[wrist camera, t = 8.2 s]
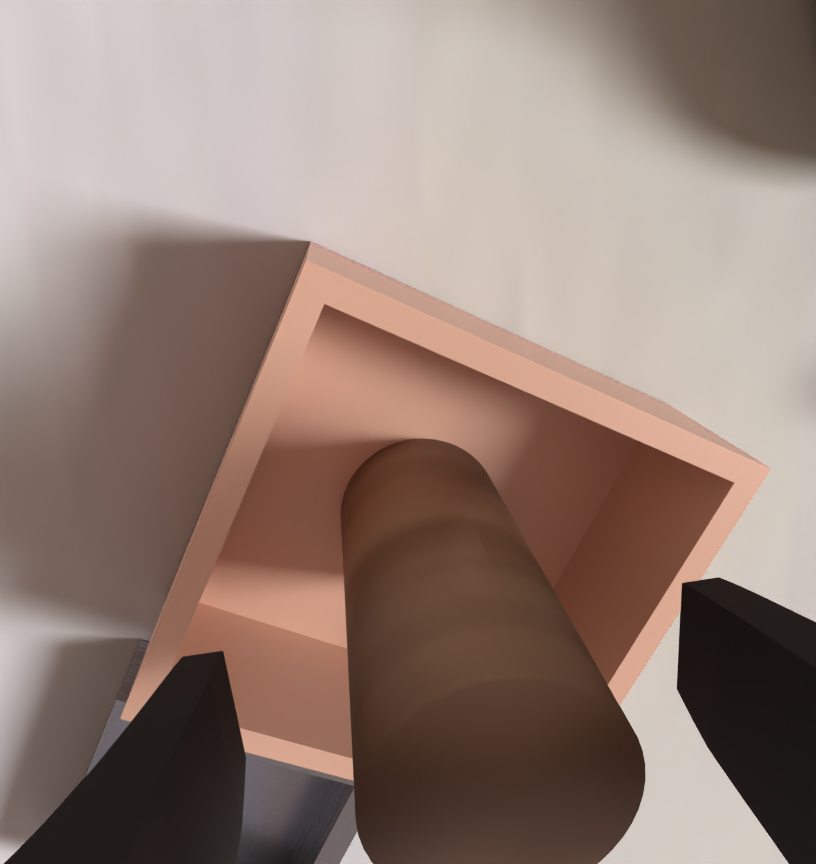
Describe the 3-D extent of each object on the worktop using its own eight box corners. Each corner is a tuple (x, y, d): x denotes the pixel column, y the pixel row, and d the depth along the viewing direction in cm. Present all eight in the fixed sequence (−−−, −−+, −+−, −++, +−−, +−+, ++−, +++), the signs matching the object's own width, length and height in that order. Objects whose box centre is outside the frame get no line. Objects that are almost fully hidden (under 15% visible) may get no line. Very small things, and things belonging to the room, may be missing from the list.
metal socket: (290, 883, 20) (287, 959, 18) (63, 832, 18) (32, 909, 16) (381, 710, 18) (388, 773, 16) (140, 639, 17) (115, 699, 15)
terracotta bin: (496, 701, 19) (540, 830, 15) (166, 598, 17) (120, 718, 13) (668, 404, 16) (770, 468, 13) (310, 241, 14) (305, 260, 10)
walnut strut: (497, 571, 17) (638, 884, 9) (348, 589, 16) (367, 926, 9) (494, 431, 16) (653, 659, 8) (333, 447, 15) (341, 698, 8)
